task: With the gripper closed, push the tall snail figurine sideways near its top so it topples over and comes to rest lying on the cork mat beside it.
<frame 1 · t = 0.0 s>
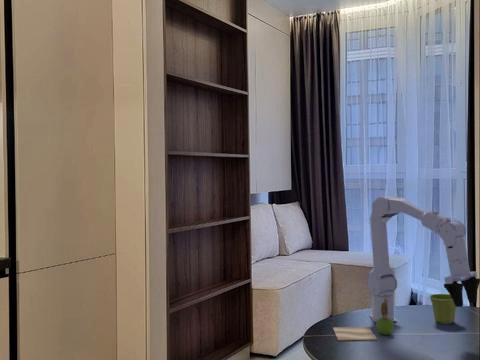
hand: (466, 304, 158), 11 cm above the table, tool pointing down, fingers open, 7 cm apart
cork mat: (354, 334, 166), on the table
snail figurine: (385, 334, 165), on the table
plant pot: (444, 322, 178), on the table
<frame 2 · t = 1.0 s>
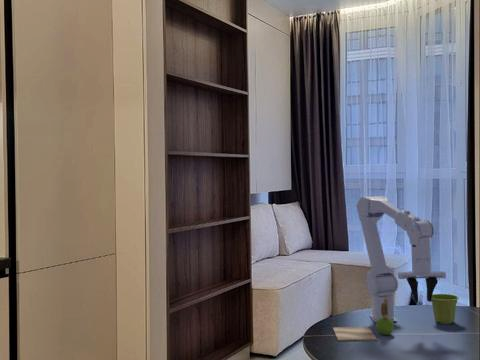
hand: (422, 301, 165), 10 cm above the table, tool pointing down, fingers open, 3 cm apart
nothing on the table moved.
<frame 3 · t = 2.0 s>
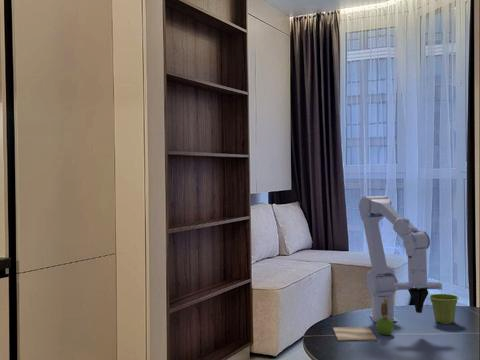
hand: (418, 312, 165), 7 cm above the table, tool pointing down, fingers closed
nothing on the table moved.
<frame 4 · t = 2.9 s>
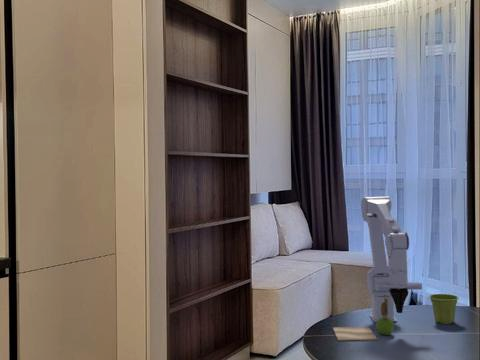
hand: (399, 312, 165), 7 cm above the table, tool pointing down, fingers closed
nothing on the table moved.
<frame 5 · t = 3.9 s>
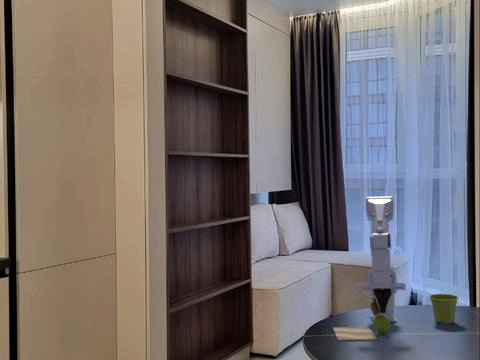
hand: (382, 312, 165), 7 cm above the table, tool pointing down, fingers closed
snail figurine: (385, 332, 165), point 1 cm above the table, touching gripper
everything else where it was.
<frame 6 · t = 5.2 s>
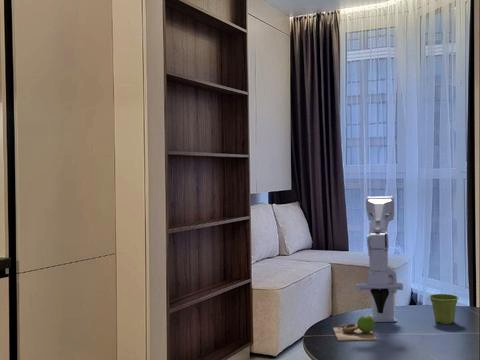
hand: (380, 312, 166), 7 cm above the table, tool pointing down, fingers closed
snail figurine: (374, 321, 166), point 4 cm above the table, touching cork mat
everything else where it was.
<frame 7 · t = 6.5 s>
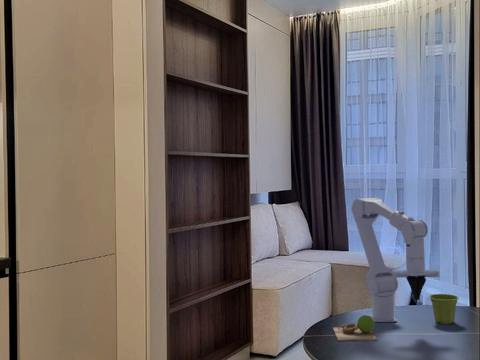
hand: (416, 299, 168), 10 cm above the table, tool pointing down, fingers closed
nothing on the table moved.
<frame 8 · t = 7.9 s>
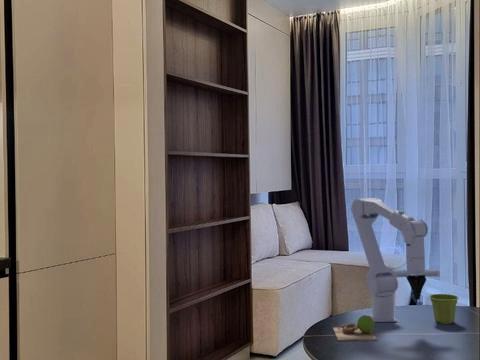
hand: (416, 299, 168), 10 cm above the table, tool pointing down, fingers closed
nothing on the table moved.
at the end: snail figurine tilted 106°; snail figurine inside the target area (5.2 cm from its centre), point 4.1 cm above the table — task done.
